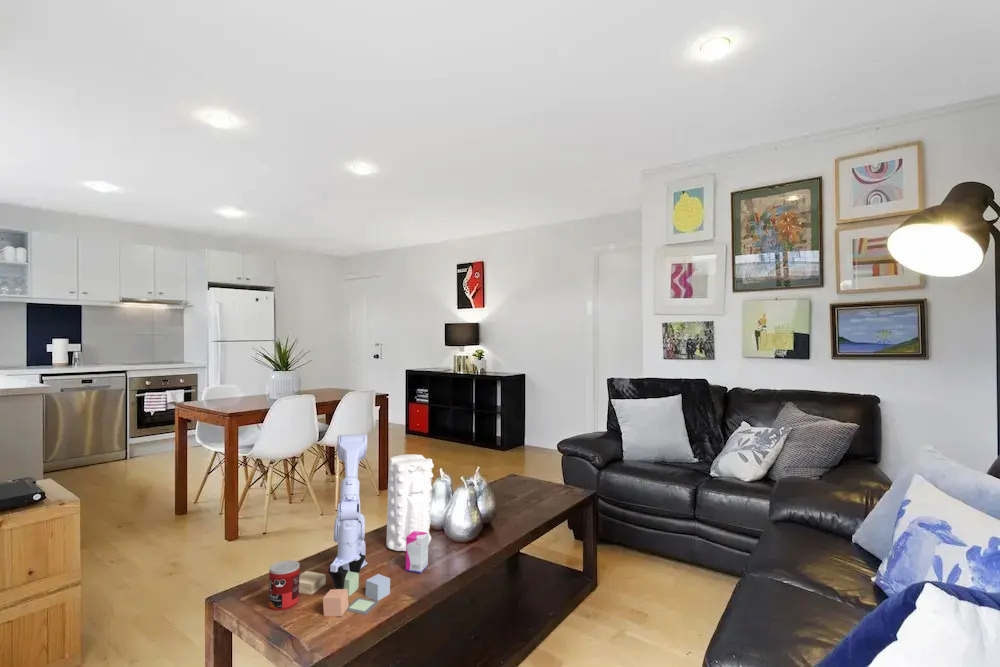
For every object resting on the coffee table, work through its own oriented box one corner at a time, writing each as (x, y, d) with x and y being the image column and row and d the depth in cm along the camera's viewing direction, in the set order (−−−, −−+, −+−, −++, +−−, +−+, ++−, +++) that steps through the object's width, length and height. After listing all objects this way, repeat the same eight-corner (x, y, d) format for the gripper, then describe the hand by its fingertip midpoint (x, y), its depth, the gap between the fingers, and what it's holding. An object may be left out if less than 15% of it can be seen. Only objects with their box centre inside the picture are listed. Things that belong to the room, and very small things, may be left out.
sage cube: (344, 586, 156) (344, 570, 156) (358, 589, 154) (358, 573, 154) (334, 594, 151) (334, 577, 151) (349, 597, 150) (349, 580, 150)
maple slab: (305, 582, 158) (306, 570, 159) (325, 585, 157) (325, 574, 157) (291, 592, 152) (291, 581, 152) (311, 596, 150) (312, 584, 150)
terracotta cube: (331, 607, 144) (330, 589, 144) (348, 606, 143) (347, 588, 143) (324, 616, 139) (322, 598, 139) (341, 616, 138) (340, 597, 138)
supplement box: (428, 566, 171) (429, 532, 171) (421, 573, 165) (422, 538, 165) (412, 563, 173) (413, 530, 173) (404, 571, 167) (405, 536, 167)
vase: (420, 532, 200) (422, 451, 200) (438, 547, 186) (440, 460, 187) (378, 540, 191) (381, 456, 191) (394, 557, 177) (396, 465, 178)
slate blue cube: (377, 590, 154) (378, 573, 154) (389, 595, 152) (390, 578, 152) (365, 597, 150) (365, 580, 150) (377, 602, 147) (378, 585, 147)
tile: (357, 598, 149) (357, 596, 149) (379, 602, 147) (379, 601, 147) (343, 610, 142) (344, 608, 142) (365, 615, 140) (365, 613, 140)
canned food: (264, 604, 145) (265, 565, 145) (292, 594, 150) (293, 557, 150) (274, 615, 139) (275, 574, 139) (303, 604, 145) (304, 566, 145)
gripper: (345, 552, 145) (344, 599, 145) (372, 533, 159) (371, 577, 158) (324, 548, 147) (323, 595, 147) (352, 530, 161) (351, 573, 160)
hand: (346, 585), depth 153 cm, fingers open, 7 cm apart
